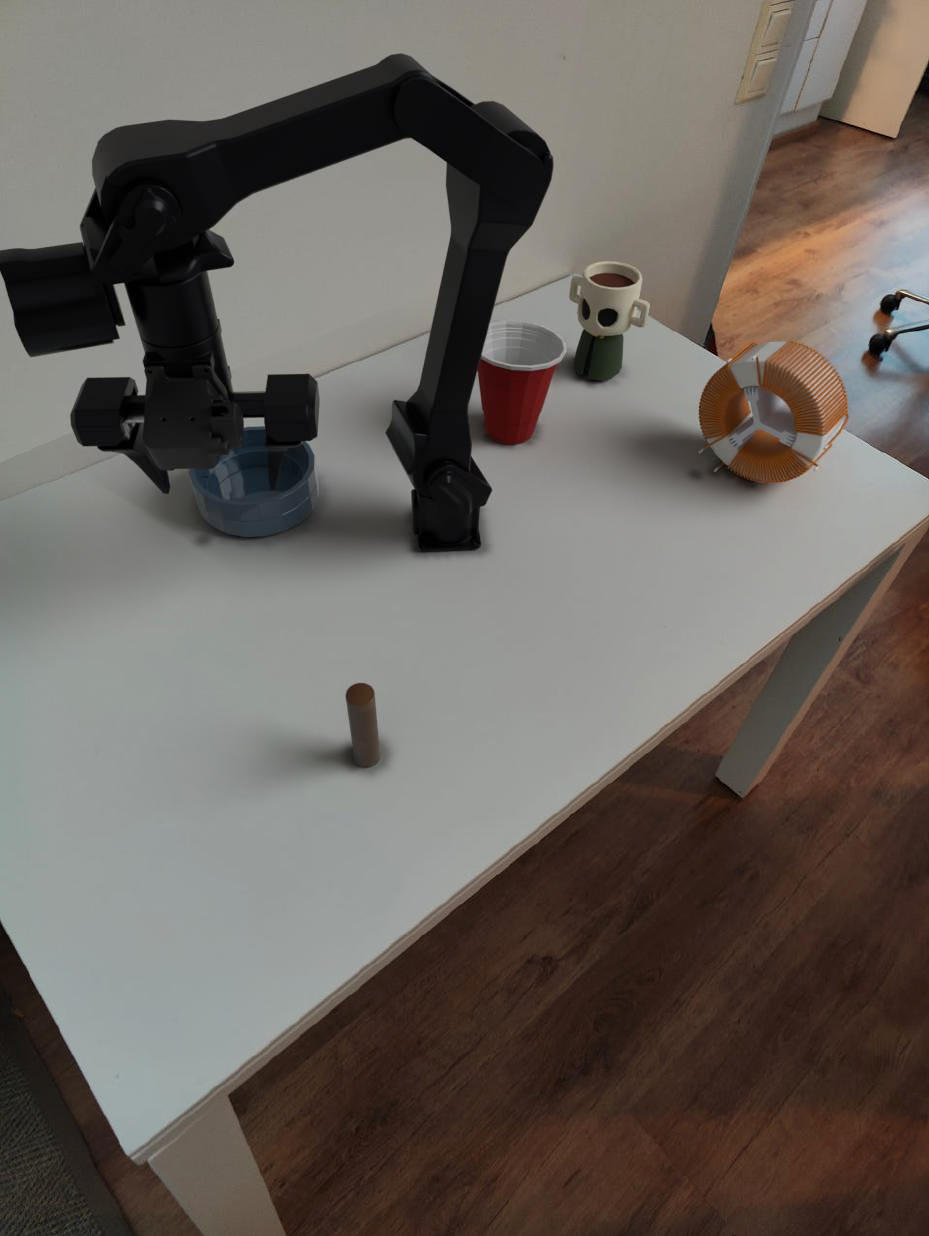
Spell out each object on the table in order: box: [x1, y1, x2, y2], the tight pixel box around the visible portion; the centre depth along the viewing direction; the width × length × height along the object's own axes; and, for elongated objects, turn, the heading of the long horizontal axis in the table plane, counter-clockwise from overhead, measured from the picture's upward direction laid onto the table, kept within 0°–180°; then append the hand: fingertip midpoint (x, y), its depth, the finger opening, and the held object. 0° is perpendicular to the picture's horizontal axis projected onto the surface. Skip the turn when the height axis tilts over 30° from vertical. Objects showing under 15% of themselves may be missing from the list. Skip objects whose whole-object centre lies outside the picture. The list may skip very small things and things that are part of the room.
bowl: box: [188, 425, 320, 538], centre depth 87 cm, size 13×13×5 cm
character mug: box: [568, 260, 651, 381], centre depth 103 cm, size 11×7×13 cm, turn 53°
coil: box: [698, 339, 850, 485], centre depth 90 cm, size 7×15×15 cm, turn 49°
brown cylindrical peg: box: [345, 682, 381, 768], centre depth 66 cm, size 2×2×9 cm
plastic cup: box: [477, 319, 568, 446], centre depth 94 cm, size 11×11×12 cm
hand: (220, 489), depth 72 cm, fingers open, 9 cm apart
